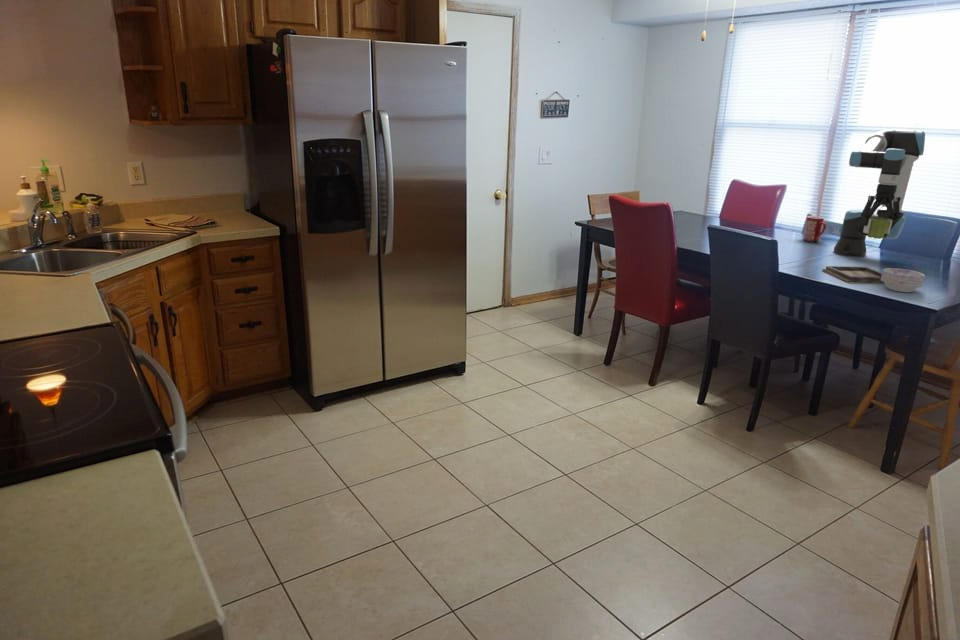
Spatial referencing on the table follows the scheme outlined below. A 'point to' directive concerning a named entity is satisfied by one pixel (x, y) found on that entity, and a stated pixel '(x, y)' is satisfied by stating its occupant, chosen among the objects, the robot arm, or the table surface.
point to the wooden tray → (854, 274)
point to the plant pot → (878, 227)
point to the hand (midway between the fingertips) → (876, 233)
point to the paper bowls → (902, 279)
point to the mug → (814, 228)
